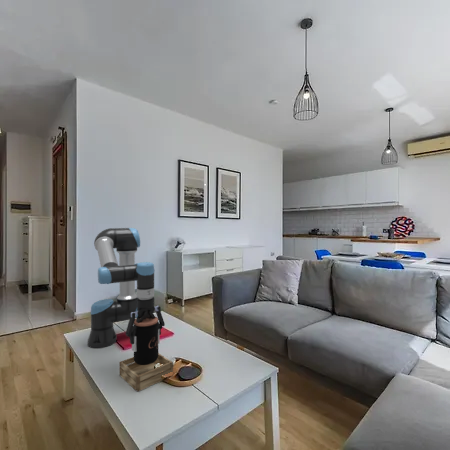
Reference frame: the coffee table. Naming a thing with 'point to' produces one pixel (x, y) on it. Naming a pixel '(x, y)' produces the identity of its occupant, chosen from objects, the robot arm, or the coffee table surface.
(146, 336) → the coffee jar
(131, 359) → the pine crate
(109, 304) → the robot arm
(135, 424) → the coffee table surface
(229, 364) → the coffee table surface
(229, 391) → the coffee table surface
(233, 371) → the coffee table surface
